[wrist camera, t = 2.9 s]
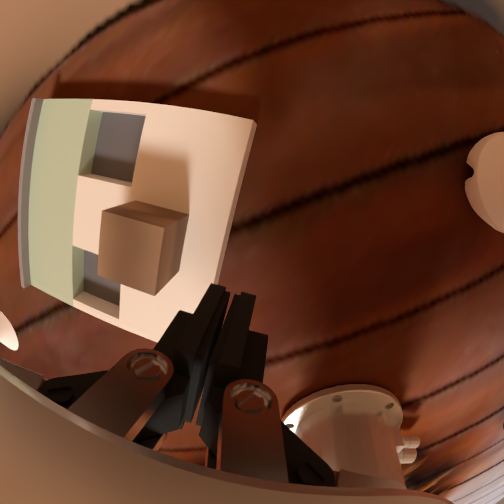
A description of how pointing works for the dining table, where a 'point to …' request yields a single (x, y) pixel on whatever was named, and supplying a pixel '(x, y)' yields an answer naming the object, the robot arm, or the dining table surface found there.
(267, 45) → the dining table surface
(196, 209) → the board
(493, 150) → the water bottle
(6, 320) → the champagne flute
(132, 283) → the walnut block
